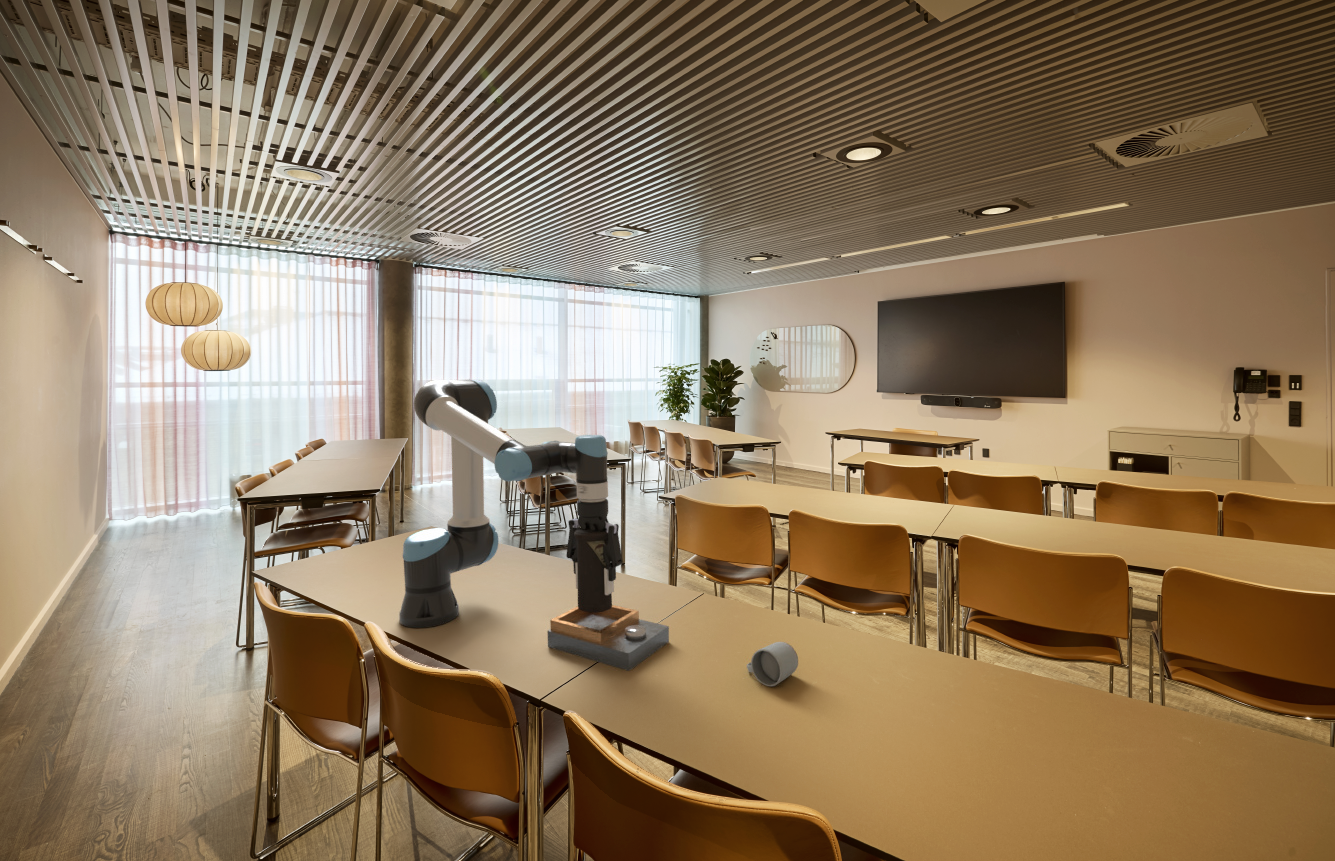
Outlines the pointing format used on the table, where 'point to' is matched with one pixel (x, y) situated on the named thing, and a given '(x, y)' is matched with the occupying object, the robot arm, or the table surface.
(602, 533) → the container
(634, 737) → the table surface
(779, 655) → the ceramic mug
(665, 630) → the framed panel with knob
